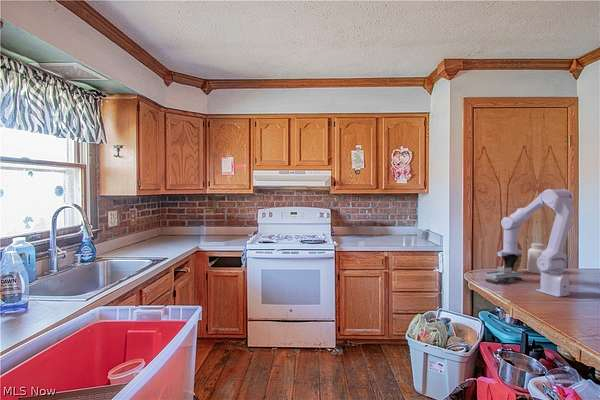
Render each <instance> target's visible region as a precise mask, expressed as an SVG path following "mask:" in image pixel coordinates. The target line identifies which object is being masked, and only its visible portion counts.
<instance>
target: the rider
mask: <svg viewBox="0 0 600 400" xmlns="http://www.w3.org/2000/svg"><path fill="white" fill-rule="evenodd" d="M496 271H497V273H499V274H505V273H511V267H507V266H506V265H502V266H497V268H496Z"/></svg>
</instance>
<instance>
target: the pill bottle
mask: <svg viewBox="0 0 600 400" xmlns="http://www.w3.org/2000/svg"><path fill="white" fill-rule="evenodd" d="M530 246H531V248H528V250H527V263H526V265H527V268H526V269H527V272H529V273H533V274H540V275H541V271H540V269H539V268H538V266H537V259H538V258H539V257H540V256H541V253H542V252H543V251H544V250H545V249H544V244H543V243H536V242H532V243H531V244H530Z"/></svg>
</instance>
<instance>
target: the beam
mask: <svg viewBox="0 0 600 400" xmlns="http://www.w3.org/2000/svg"><path fill="white" fill-rule="evenodd" d="M484 276H486V277H490V278H492V279H493V278H494V279H495V278H496V279H497V278H506V277H516V276H517V277H521V276H523V277H524V272H523V271H517V272H514V271H513V270H512V271H511V273H505V274H499V273H497V270H490V271H484Z"/></svg>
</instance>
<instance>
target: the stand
mask: <svg viewBox="0 0 600 400" xmlns="http://www.w3.org/2000/svg"><path fill="white" fill-rule="evenodd" d="M498 281H499V282H503V283H507V284H512V283H514V281H523V277H521V276H516V277H506V278H497V279H496V278H494V279H491V278H485V282H486V283H490V284H493V285H498Z"/></svg>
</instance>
